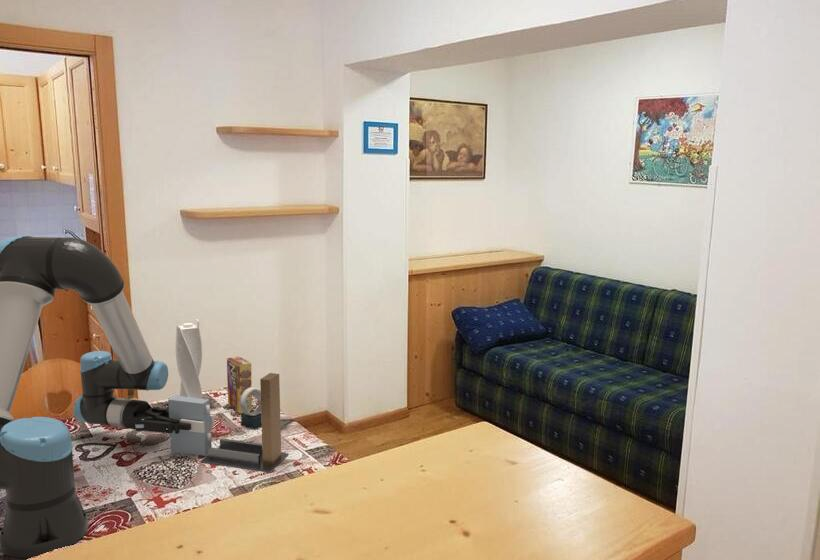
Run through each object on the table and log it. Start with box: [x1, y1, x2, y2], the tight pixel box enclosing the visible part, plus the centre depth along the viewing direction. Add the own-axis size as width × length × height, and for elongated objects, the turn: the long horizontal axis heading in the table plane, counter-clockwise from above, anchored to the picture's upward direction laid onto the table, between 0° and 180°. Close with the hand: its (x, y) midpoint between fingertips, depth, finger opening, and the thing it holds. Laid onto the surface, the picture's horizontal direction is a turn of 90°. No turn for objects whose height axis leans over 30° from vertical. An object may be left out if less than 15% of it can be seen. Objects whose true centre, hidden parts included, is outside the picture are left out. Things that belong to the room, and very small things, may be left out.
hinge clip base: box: [200, 372, 289, 473], centre depth 160 cm, size 10×19×22 cm, turn 75°
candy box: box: [226, 356, 253, 415], centre depth 194 cm, size 9×4×15 cm, turn 39°
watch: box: [240, 386, 262, 430], centre depth 183 cm, size 6×8×11 cm
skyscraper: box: [175, 318, 204, 399], centre depth 193 cm, size 8×8×28 cm
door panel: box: [167, 395, 213, 457], centre depth 165 cm, size 3×11×14 cm, turn 75°
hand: (208, 424), depth 164 cm, fingers open, 4 cm apart
